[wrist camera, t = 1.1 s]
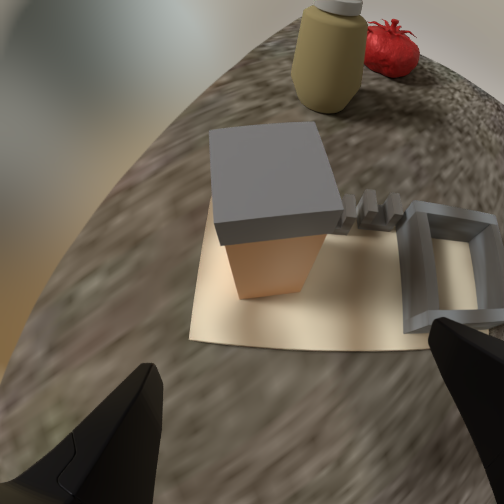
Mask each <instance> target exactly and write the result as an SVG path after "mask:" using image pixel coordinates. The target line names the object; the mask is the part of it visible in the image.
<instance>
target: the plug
mask: <svg viewBox="0 0 504 504" xmlns="http://www.w3.org/2000/svg"><path fill="white" fill-rule="evenodd" d="M209 145H210V167H211V186H212V204H213V220H214V226H215V229H216V233H217V236H218V240H219V243H220V246H225V249H226V253H227V256H228V260H229V264H230V267H231V271H232V275H233V278H234V282H235V286H236V289H237V293H238V297H239V300H240V299H248V298H257V297H265V296H273V295H281V294H288V293H296V292H300V291H301V289H302V287H303V285H304V283H305V281H306V279H307V276H308V274H309V272H310V270H311V268H312V266H313V264H314V262H315V260H316V257H317V255H318V253H319V251H320V249H321V247H322V244H323V242H324V240H325V238H326V236H327V234H331V233H333V232H334V230H335V228H336V226H337V223H338V221H339V219H340V217H341V215H342V213H343V211H344V208H343V204H342V201H341V198H340V194H339V191H338V188H337V185H336V182H335V179H334V175H333V172H332V169H331V166H330V163H329V161H328V158H327V155H326V152H325V149H324V146H323V143H322V141H321V138H320V135H319V132H318V130H317V127H316V124H315V122H291V123H275V124H262V125H250V126H240V127H231V128H223V129H215V130H209Z"/></svg>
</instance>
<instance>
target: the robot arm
mask: <svg viewBox="0 0 504 504" xmlns="http://www.w3.org/2000/svg"><path fill="white" fill-rule="evenodd" d="M428 345H429V347H430V350H431V352H432V354H433V357H434V359H435V361H436V364H437V366H438V368H439V371H440V373H441V376H442V378H443V380H444V382H445V384H446V386H447V388H448V390H449V392H450V394H451V396H452V398H453V400H454V402H455V404H456V406H457V408H458V410H459V412H460V414H461V416H462V418H463V420H464V422H465V424H466V426H467V429H468V431H469V433H470V435H471V437H472V440H473V442H474V444H475V446H476V449H477V451H478V454H479V456H480V458H481V461H482V463H483V466H484V468H485V471H486V474H487V477H488V479H489V482H490V485H491V488H492V490H493V493H494V496H495V499H496V502H497V504H504V341H503V340H500V339H498V338H495V337H493V336H490V335H488V334H486V333H483V332H481V331H478V330H476V329H473V328H471V327H468V326H466V325H463V324H461V323H458V322H456V321H454V320H451V319H449V318H446V317H440V318H436V319H434V320H433V322H432V325H431V329H430V332H429V336H428ZM162 410H163V382H162V379H161V377H160V374H159V372H158V370H157V367H156V365H155V364H154V363H142V364H140V365H139V366H138V367H137V368H136V369H135V370H134V371H133V372H132V373H131V374H130V375H129V376H128V377H127V378H126V379H125V380H124V381H123V382H122V383H121V384H120V385H119V386H118V387H117V388H116V389H115V390H114V391H112V392H111V393H110V394H109V395H108V396H107V397H106V398H105V399H104V400H103V401H102V402H101V403H100V404H99V405H98V406H97V407H96V408H95V409H94V410H93V411H92V412H91V413H90V414H89V415H88V416H87V417H86V418H85V419H84V420H83V421H82V422H81V423H80V424H79V425H78V426H77V427H76V428H75V429H74V430H73V431H72V432H73V433H72V432H70V433H69V434H68V435H67V436H66V437H65V438H64V439H63V440H62V441H61V442H60V443H59V444H58V445H57V446H56V447H55V448H53V449H52V450H51V451H50V452H49V453H47V454H46V455H45V456H44V457H43V458H41V459H40V460H39V461H37V462H36V463H35V464H34V465H32V466H31V467H30V468H28V469H27V470H26V471H24V472H23V473H22V474H21V475H19V476H18V477H16V478H15V479H13V480H11V481H8V482H4V483H0V504H152V503H153V494H154V485H155V477H156V469H157V461H158V454H159V446H160V439H161V432H162Z"/></svg>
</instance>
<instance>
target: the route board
mask: <svg viewBox="0 0 504 504" xmlns="http://www.w3.org/2000/svg"><path fill="white" fill-rule="evenodd" d="M342 204H343V208H344V211H343V213H342V215H341V217H340V219H339V221H338V223H337V226H336V228H335V230H334V232H333V233H331V234H327V236H326V238H325V240H324V242H323V244H322V247H321V249H320V251H319V253H318V255H317V257H316V260H315V262H314V264H313V266H312V268H311V270H310V272H309V274H308V276H307V279H306V281H305V283H304V285H303V287H302V289H301V291H300V292H296V293H288V294H281V295H273V296H265V297H257V298H248V299H240V300H239V297H238V293H237V289H236V286H235V282H234V278H233V275H232V271H231V267H230V264H229V260H228V256H227V253H226V249H225V246H220V243H219V240H218V236H217V233H216V229H215V226H214V220H213V204H212V197H211V200H210V206H209V211H208V217H207V222H206V228H205V234H204V240H203V246H202V252H201V258H200V264H199V271H198V277H197V284H196V291H195V298H194V305H193V312H192V319H191V327H190V335H189V340H191V341H198V342H206V343H214V344H223V345H233V346H244V347H255V348H268V349H284V350H304V351H339V352H373V351H407V350H425V349H430V347H429V345H428V336H429V332H430V329H431V325H432V322H433V320H434V319H436V318H440V317H446V318H449V319H451V320H454V321H456V322H458V323H461V324H463V325H466V326H468V327H471V328H473V329H476V330H478V331H481V332H483V333H486V334H488V335H489V328H492V327H495V326H498V325H501V324H504V247H503V243H502V239H501V235H500V231H499V227H498V223H497V219H496V216H495V215H492V214H487V213H483V212H478V211H473V210H468V209H463V208H457V207H452V206H447V205H441V204H435V203H429V202H423V201H417V200H413V202H412V203H411V204H410V206H409V207H408V208H407V209H406V211H405V212H404V213H403V210H402V204H401V199H400V194H399V193H392V192H391V193H390V194H389V196H388V198H387V199H386V201H385V202H384V204H383V205H377V199H376V192H375V190H370V189H366V190H365V192H364V194H363V196H362V198H361V200H360V201H359V203H358V205H357V207H356V202H355V195H351V194H345V195H344V197H343V199H342Z"/></svg>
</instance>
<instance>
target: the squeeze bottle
mask: <svg viewBox="0 0 504 504" xmlns="http://www.w3.org/2000/svg"><path fill="white" fill-rule="evenodd" d="M362 4H363V1H362V0H314V5H312V6H310V7H308V8H307V9H305V10H304V11H303V16H302V20H301V25H300V30H299V35H298V40H297V45H296V50H295V55H294V60H293V65H292V70H291V77H292V80H293V83H294V86H295V89H296V92H297V95H298V98H299V100H300V101H301V103H302V104H303V105H305V106H306V107H307V108H309V109H311V110H314V111H316V112H321V113H337V112H339V111H341V110H343V109H344V108H345V106H346V105H347V104H348V103H349V101H350V100H351V99H352V98H353V96H354V95H355V94H356V93H357V91H358V90H359V88H360V87H361V81H362V74H363V66H364V58H365V50H366V40H367V31H368V24H367V22H366V20H365V19H364V18H363V17H362V16H360V15H359V14H361V9H362Z"/></svg>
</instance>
